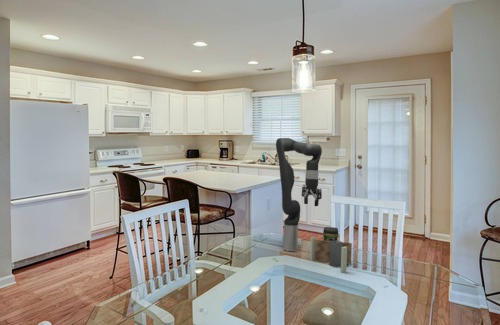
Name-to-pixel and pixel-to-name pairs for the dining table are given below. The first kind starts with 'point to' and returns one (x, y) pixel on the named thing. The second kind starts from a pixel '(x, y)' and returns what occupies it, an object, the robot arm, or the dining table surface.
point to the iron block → (335, 253)
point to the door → (324, 250)
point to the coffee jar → (330, 233)
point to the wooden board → (343, 255)
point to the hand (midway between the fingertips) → (311, 205)
